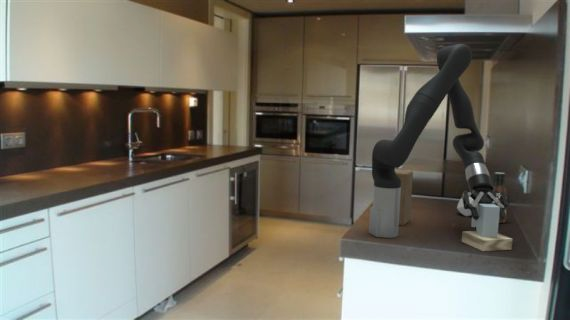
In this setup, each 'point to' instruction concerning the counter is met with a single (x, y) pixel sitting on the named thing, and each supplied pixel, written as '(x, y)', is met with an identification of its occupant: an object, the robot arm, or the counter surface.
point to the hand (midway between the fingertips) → (490, 219)
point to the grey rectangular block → (488, 220)
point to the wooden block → (405, 195)
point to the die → (462, 210)
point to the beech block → (487, 241)
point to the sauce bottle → (499, 186)
